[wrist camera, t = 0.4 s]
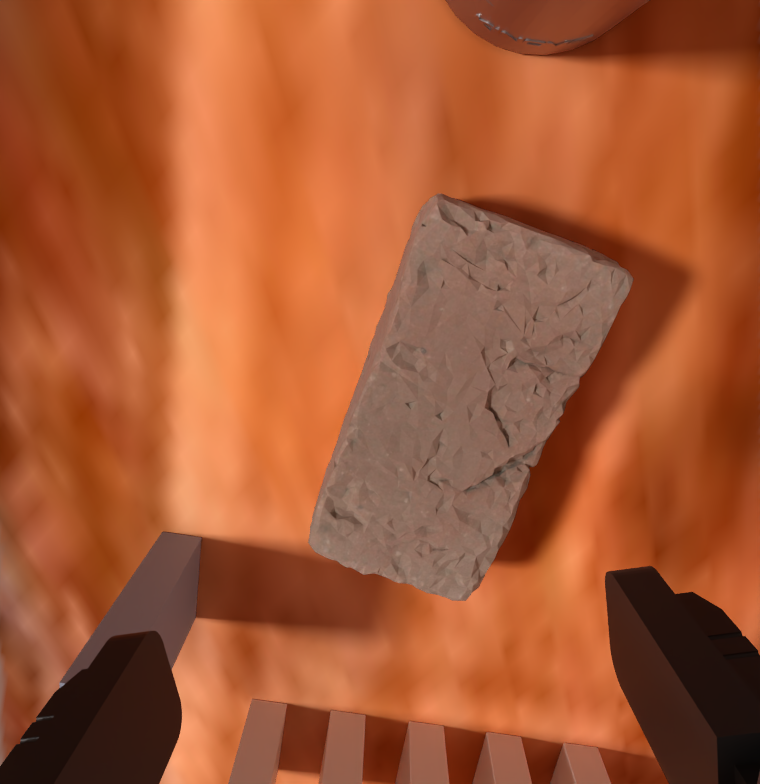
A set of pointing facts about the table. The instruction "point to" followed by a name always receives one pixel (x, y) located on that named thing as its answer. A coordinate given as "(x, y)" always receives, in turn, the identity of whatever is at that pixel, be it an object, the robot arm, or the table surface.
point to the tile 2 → (260, 744)
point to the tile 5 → (502, 761)
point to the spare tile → (153, 600)
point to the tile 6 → (579, 766)
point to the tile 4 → (423, 755)
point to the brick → (461, 395)
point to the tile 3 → (343, 749)
